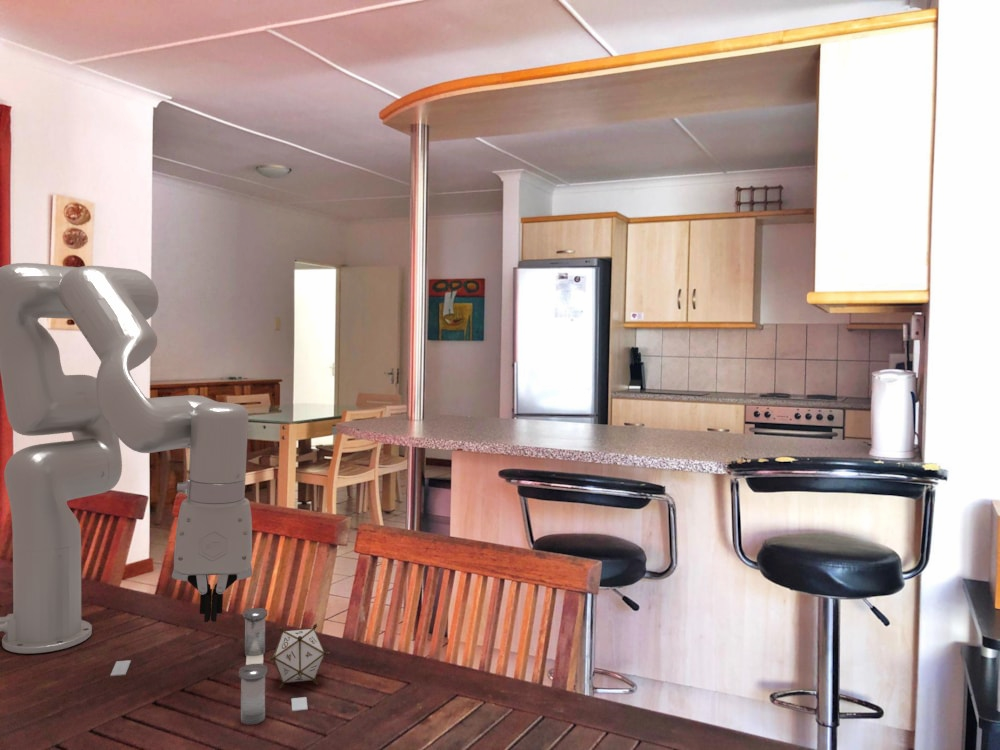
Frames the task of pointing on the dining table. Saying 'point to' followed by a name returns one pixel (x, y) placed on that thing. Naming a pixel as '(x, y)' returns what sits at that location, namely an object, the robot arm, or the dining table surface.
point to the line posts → (253, 668)
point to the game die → (298, 655)
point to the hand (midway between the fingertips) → (210, 618)
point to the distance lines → (297, 703)
